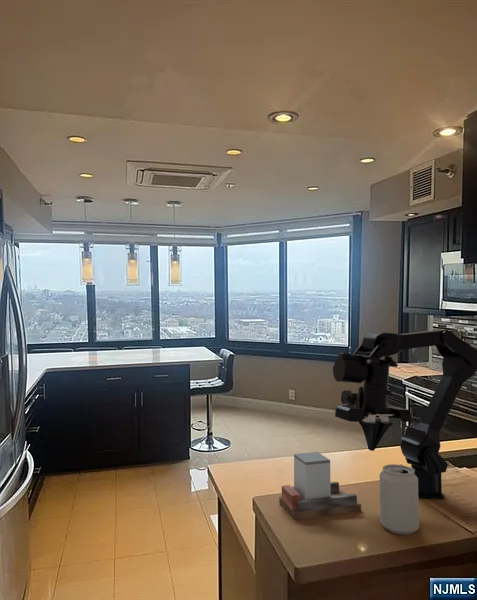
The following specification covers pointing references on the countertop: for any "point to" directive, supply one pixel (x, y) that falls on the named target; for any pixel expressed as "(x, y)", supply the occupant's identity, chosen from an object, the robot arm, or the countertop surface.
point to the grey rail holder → (318, 503)
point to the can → (399, 499)
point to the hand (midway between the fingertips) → (371, 450)
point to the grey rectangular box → (312, 475)
